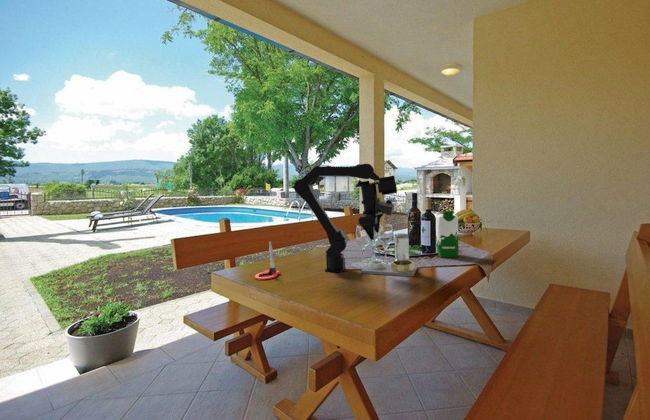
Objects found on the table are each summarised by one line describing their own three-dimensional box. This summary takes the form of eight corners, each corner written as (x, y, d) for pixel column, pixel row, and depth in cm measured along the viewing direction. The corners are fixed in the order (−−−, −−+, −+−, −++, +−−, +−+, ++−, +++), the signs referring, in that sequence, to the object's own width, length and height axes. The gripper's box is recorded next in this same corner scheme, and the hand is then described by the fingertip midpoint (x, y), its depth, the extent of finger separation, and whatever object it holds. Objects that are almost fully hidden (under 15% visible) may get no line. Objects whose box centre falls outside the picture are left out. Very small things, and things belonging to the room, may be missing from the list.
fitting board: (361, 273, 122) (360, 270, 122) (368, 265, 132) (368, 263, 132) (413, 276, 115) (412, 273, 115) (416, 268, 125) (416, 266, 125)
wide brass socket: (389, 271, 119) (389, 264, 119) (393, 265, 127) (393, 259, 127) (412, 272, 116) (412, 265, 116) (415, 267, 124) (415, 260, 123)
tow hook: (268, 282, 117) (283, 274, 125) (264, 247, 115) (280, 241, 123) (250, 280, 121) (265, 272, 129) (246, 246, 119) (262, 240, 127)
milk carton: (439, 258, 140) (438, 211, 138) (435, 253, 149) (434, 210, 147) (460, 257, 139) (460, 211, 137) (455, 253, 148) (454, 209, 146)
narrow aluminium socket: (367, 268, 124) (367, 263, 124) (371, 265, 129) (370, 260, 129) (381, 269, 122) (381, 264, 121) (385, 266, 127) (384, 261, 127)
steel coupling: (394, 270, 120) (393, 235, 119) (396, 267, 125) (395, 233, 124) (408, 271, 118) (407, 235, 117) (410, 267, 123) (409, 233, 122)
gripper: (386, 200, 113) (391, 242, 116) (394, 190, 129) (399, 227, 133) (355, 202, 117) (361, 244, 120) (367, 192, 134) (372, 229, 137)
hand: (375, 235), depth 127 cm, fingers open, 9 cm apart
